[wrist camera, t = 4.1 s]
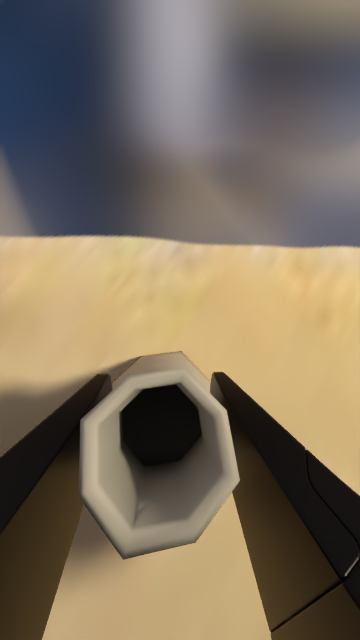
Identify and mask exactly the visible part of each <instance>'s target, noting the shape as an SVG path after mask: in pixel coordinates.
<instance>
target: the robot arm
mask: <svg viewBox="0 0 360 640" xmlns="http://www.w3.org/2000/svg"><path fill="white" fill-rule="evenodd" d="M111 391H112V384H111V377H110V375H109V374H97V375H96V376H95V377H93V378H92V379H91V380H90V381H89V382H88V383H86V384H85V385H84V386H83V387H82V388H81V389H79V390H78V391H77V392H76V393H75V394H74V395H72V396H71V397H70V398H69V399H68V400H67V401H66V402H64V403H63V404H62V405H61V406H60V407H59V408H57V409H56V410H55V411H54V412H53V413H52V414H50V415H49V416H48V417H47V418H46V419H45V420H43V421H42V422H41V423H40V424H39V425H38V426H36V427H35V428H34V429H33V430H32V431H31V432H29V433H28V434H27V435H26V436H25V437H24V438H22V439H21V440H20V441H19V442H18V443H17V444H15V445H14V446H13V447H12V448H11V449H10V450H8V451H7V452H6V453H5V454H4V455H3V456H1V457H0V640H42V637H43V634H44V631H45V627H46V624H47V621H48V618H49V614H50V611H51V608H52V605H53V602H54V598H55V595H56V592H57V589H58V585H59V582H60V579H61V576H62V572H63V569H64V566H65V563H66V559H67V556H68V553H69V550H70V547H71V543H72V540H73V537H74V534H75V530H76V527H77V524H78V521H79V517H80V514H81V511H82V508H83V504H84V503H83V502H82V500H81V499H80V497H79V460H80V421H81V419H82V418H83V417H84V416H85V415H86V414H87V413H89V412H90V411H91V410H92V409H93V408H94V407H95V406H96V405H97V404H98V403H99V402H100V401H102V400H103V399H104V398H105V397H106V396H107V395H108V394H109V393H110V392H111ZM210 394H211V395H212V396H213V397H214V398H215V399H216V400H217V401H218V402H219V403H220V404H221V405H222V406H223V407H224V408H225V409H226V410H227V415H228V420H229V425H230V431H231V436H232V441H233V446H234V452H235V457H236V462H237V468H238V473H239V478H240V481H239V482H238V484H237V485H236V487H235V488H234V489H233V491H232V493H233V497H234V500H235V504H236V508H237V511H238V515H239V519H240V523H241V526H242V530H243V534H244V537H245V541H246V545H247V548H248V552H249V556H250V560H251V563H252V567H253V571H254V574H255V578H256V582H257V585H258V589H259V593H260V597H261V600H262V604H263V608H264V611H265V615H266V619H267V622H268V626H269V630H270V632H271V638H272V640H360V496H359V495H358V494H357V493H356V492H355V491H353V490H352V489H351V488H350V487H349V486H347V485H346V484H345V483H344V482H343V481H342V480H340V479H339V478H338V477H337V476H336V475H335V474H334V473H333V472H331V471H330V470H329V469H328V468H327V467H326V466H325V465H324V464H323V463H321V462H320V461H319V460H318V459H317V458H316V457H315V456H314V455H313V454H312V453H311V452H309V451H308V450H305V447H304V446H303V445H302V444H301V443H300V442H299V441H297V440H296V439H295V438H294V437H293V436H292V435H291V434H290V433H289V432H288V431H287V430H286V429H284V428H283V427H282V426H281V425H280V424H279V423H278V422H277V421H276V420H275V419H274V418H273V417H271V416H270V415H269V414H268V413H267V412H266V411H265V410H264V409H263V408H262V407H261V406H260V405H258V404H257V403H256V402H255V401H254V400H253V399H252V398H251V397H250V396H249V395H248V394H247V393H246V392H244V391H243V390H242V389H241V388H240V387H239V386H238V385H237V384H236V383H235V382H234V381H233V380H231V379H230V378H229V377H228V376H227V375H226V374H225V373H223V372H214V373H213V374H212V378H211V385H210Z"/></svg>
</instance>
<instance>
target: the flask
mask: <svg viewBox="0 0 360 640" xmlns="http://www.w3.org/2000/svg"><path fill="white" fill-rule="evenodd" d="M239 481H240V478H239V473H238V468H237V462H236V457H235V452H234V446H233V441H232V436H231V431H230V425H229V420H228V415H227V410H226V409H225V408H224V407H223V406H222V405H221V404H220V403H219V402H218V401H217V400H216V399H215V398H214V397H213V396H212V395H211V394H210V380H209V379H208V378H207V377H206V376H205V375H204V374H203V373H202V372H201V371H200V370H199V369H198V368H197V367H196V366H195V365H194V364H193V363H192V362H191V361H190V360H189V359H188V358H187V356H186V355H185V354H184V353H183V352H182V351H179V352H170V353H162V354H154V355H145V356H141V357H140V358H139V359H138V360H137V361H136V362H135V363H134V364H133V365H131V366H130V367H129V368H128V369H127V370H126V371H125V372H124V373H123V374H122V375H121V376H119V377H118V378H117V379H116V380H115V381H114V382H113V383H112V391H111V392H110V393H109V394H108V395H107V396H106V397H105V398H104V399H103V400H102V401H100V402H99V403H98V404H97V405H96V406H95V407H94V408H93V409H92V410H91V411H90V412H89V413H87V414H86V415H85V416H84V417H83V418H82V419H81V421H80V460H79V497H80V499H81V500H82V502H83V503H84V505H85V506H86V507H87V509H88V510H89V512H90V513H91V514H92V516H93V517H94V519H95V520H96V522H97V523H98V524H99V526H100V527H101V529H102V530H103V531H104V533H105V534H106V536H107V537H108V539H109V540H110V541H111V543H112V544H113V546H114V547H115V549H116V550H117V551H118V553H119V554H120V556H121V557H122V558H123V559H127V558H131V557H136V556H140V555H144V554H148V553H153V552H157V551H161V550H165V549H170V548H174V547H178V546H182V545H187V544H191V543H195V542H196V541H197V540H198V538H199V537H200V535H201V534H202V533H203V531H204V530H205V529H206V527H207V526H208V524H209V523H210V522H211V520H212V519H213V517H214V516H215V515H216V513H217V512H218V510H219V509H220V508H221V506H222V505H223V503H224V502H225V501H226V499H227V498H228V496H229V495H230V494H231V492H232V491H233V489H234V488H235V487H236V485H237V484H238V482H239Z"/></svg>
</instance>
